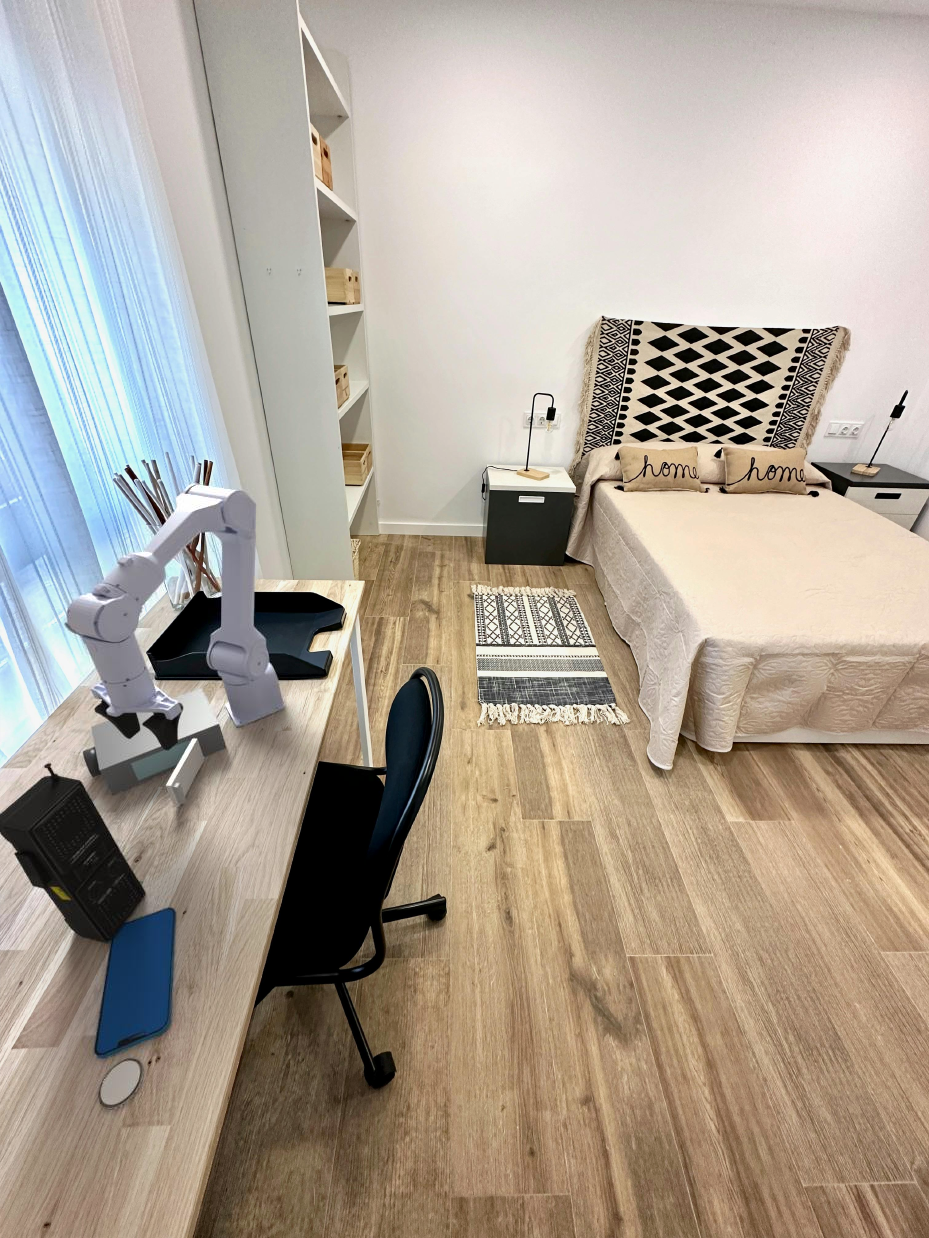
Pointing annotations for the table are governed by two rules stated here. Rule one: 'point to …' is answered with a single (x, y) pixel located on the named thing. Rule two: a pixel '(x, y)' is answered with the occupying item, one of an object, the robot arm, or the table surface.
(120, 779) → the camera housing
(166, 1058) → the table surface
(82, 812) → the portable radio
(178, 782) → the side door
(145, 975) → the smartphone
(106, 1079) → the white round disc
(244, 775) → the table surface
